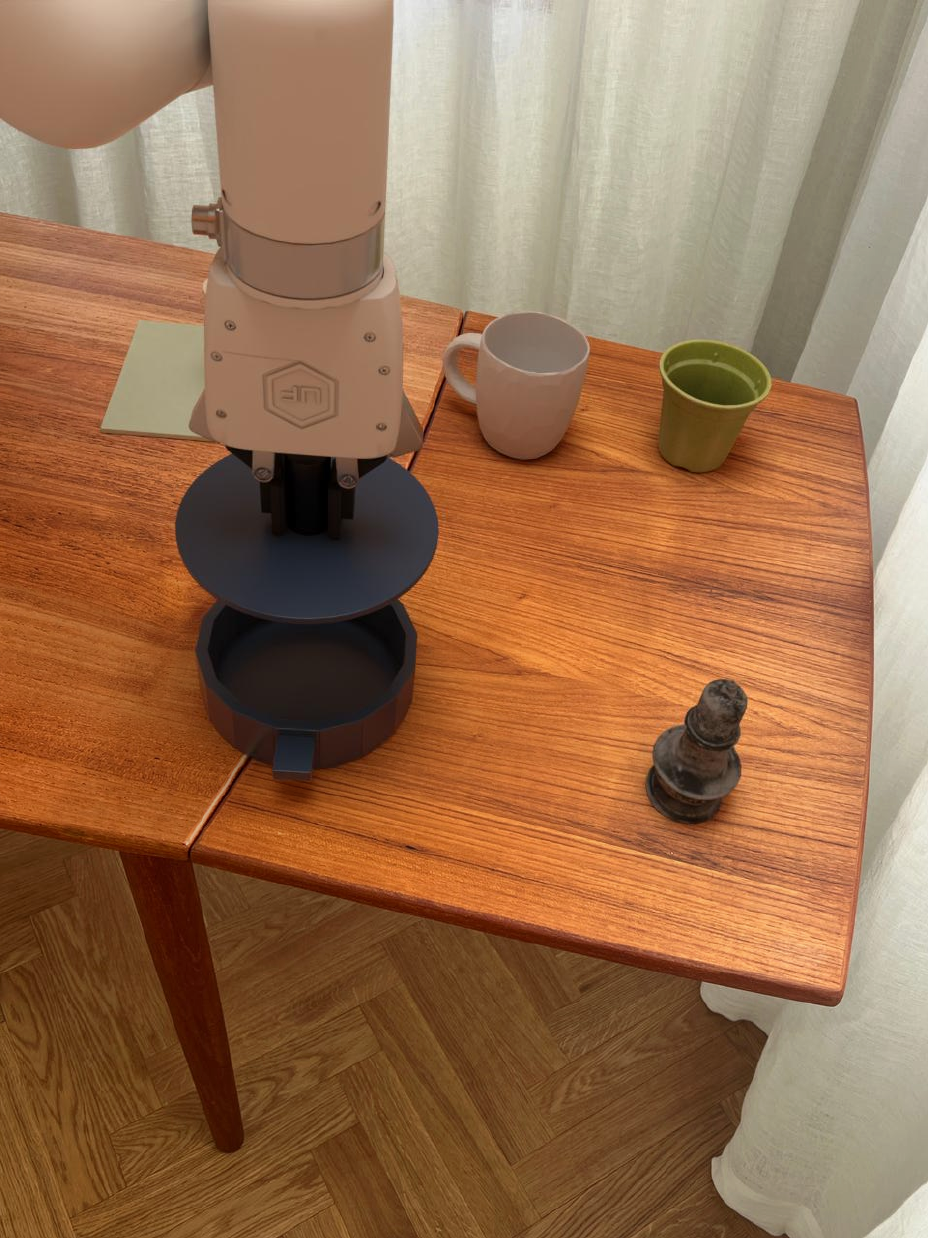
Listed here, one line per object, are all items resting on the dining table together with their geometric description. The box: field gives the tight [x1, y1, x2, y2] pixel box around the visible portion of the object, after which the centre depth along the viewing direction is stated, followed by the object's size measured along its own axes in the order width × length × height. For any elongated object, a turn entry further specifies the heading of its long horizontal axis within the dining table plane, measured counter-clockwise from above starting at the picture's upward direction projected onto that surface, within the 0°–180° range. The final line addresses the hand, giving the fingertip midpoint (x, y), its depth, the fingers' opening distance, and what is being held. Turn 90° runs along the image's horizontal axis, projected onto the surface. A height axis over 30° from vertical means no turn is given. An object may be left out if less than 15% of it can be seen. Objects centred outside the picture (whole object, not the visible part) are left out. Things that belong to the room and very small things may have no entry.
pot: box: [194, 599, 418, 782], centre depth 76 cm, size 15×20×4 cm
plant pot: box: [657, 339, 772, 473], centre depth 96 cm, size 9×9×9 cm
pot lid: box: [174, 453, 440, 624], centre depth 65 cm, size 16×16×7 cm
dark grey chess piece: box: [644, 678, 749, 825], centre depth 71 cm, size 6×6×12 cm
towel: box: [99, 319, 214, 443], centre depth 99 cm, size 20×16×1 cm
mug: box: [442, 310, 591, 460], centre depth 95 cm, size 13×9×10 cm
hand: (308, 518), depth 66 cm, fingers closed on pot lid, 2 cm apart
